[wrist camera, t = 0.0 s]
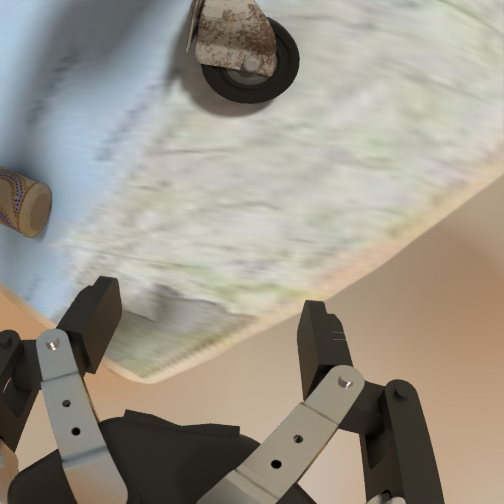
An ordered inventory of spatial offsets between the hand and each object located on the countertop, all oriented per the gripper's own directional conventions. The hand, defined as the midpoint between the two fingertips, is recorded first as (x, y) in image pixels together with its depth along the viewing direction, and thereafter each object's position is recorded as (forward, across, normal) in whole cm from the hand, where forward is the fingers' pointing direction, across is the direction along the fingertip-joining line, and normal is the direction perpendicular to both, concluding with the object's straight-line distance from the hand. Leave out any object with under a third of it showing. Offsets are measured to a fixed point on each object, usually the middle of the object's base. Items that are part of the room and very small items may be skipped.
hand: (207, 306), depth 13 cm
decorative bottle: (+23, +35, +1) cm, 42 cm away
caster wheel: (+21, 0, -13) cm, 25 cm away
